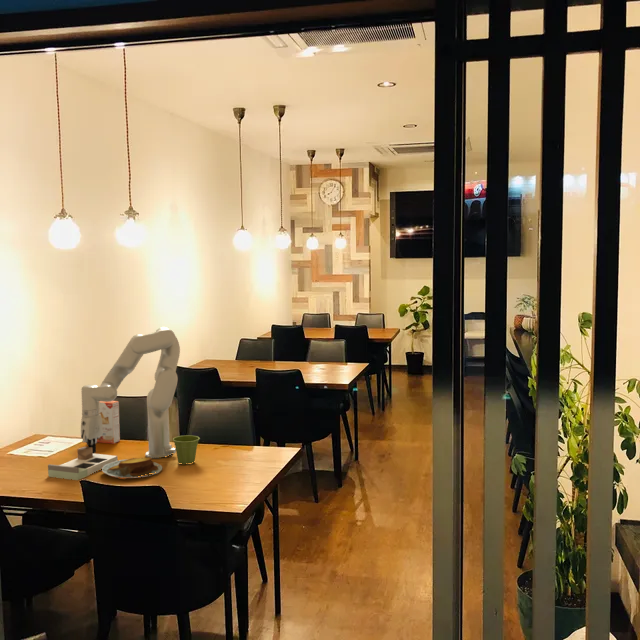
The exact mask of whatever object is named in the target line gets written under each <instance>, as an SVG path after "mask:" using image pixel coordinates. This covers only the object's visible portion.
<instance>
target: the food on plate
mask: <svg viewBox="0 0 640 640" xmlns="http://www.w3.org/2000/svg"><path fill="white" fill-rule="evenodd" d="M101 469H102V470H101V471H102V473H104V474H105V475H108V476H109V477H112V478H115V479H117V478H118V479H120V480H126V479H138V478H141V477H142V478H145V477H146V478H147V477H150V476H153V475H156V474H158V473H161V471H162V470H163V465H161V464H159V463H158V462H155V461H153V458H150V457H146V456H145V457H139V458H137V457H135V458H134V457H133V458H128V459H126V458H125V459H119V460H118V461H115V462H111V463H108V464H106V465H104V466H103V467H102V468H101ZM155 472H156V473H155ZM149 473H154V474H152V475H149V476H148V475H145V474H149ZM141 475H145V476H141ZM138 476H140V477H138Z"/></svg>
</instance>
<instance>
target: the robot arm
mask: <svg viewBox="0 0 640 640" xmlns="http://www.w3.org/2000/svg"><path fill="white" fill-rule="evenodd" d="M157 351H160V356H159V361H158V363H157V367H156V370H155V373H154V380H155V383H154V387H153V388H152V389H150V391H148V393H147V395H146V407H147V408H146V409H147V428H148V429H147V436H148V437H147V438H148V451H146V452H145V457H150V458H151V459H160V458H159V457H165V456H168V455H171V454H172V453H173V454H177V453H176V447H172V444H170V412H169V408H170V407H171V405H172V402H173V399H174V396H175V393H176V389H177V384H178V374H177V372H176V371H177V368H178V363H179V359H180V355H181V354H180V353H181V346H180V342H179V340H178V338H177V336H176V334H175V332H174V331H173V330H171V329H170V328H169V327H166V326H161V327H159V328H158V329H156V330H155V331H154V332H151V333H147V334H141V333H140V334H139V333H138V334H135V335H133V336H132V337H131V338H130V340H129V341H128V342H127V344H126V346H125V348H124V349H123V350H122V353H121V354H120V355H119V357H118V359H117V360H116V361H115V363H114V364H113V366H112V367H111V369H110V370H109V371H108V373H107V374H106V376H105V377H104V379H103V381H102V382H101V384H100V385H97V384H87V385H83V386H82V387H81V420H80V438H81V439H82V440H81V441H82V443H86V445H87V447H92V449H93V453H94V454H97V453H96V452H97V443H98V442H97V439H98V438H100V436H101V435H103V424H102V418H101V414H100V405H99V401H105V402H110V401H115V399H116V398H117V397H118V389H119V387H120V385H121V383H122V382H123V381H124V380H125V378H126V377H127V376H128V375H130V374H131V373H132V372H133V371H134V370H135V368H136V367H137V365H138V364H139V363H140V361H141V359H142V357H143V356H144V355H146V354H147V355H148V354H149V353H150V354H151V353H154V352H155V353H156V352H157ZM171 456H172V455H171ZM165 458H166V457H165Z"/></svg>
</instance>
